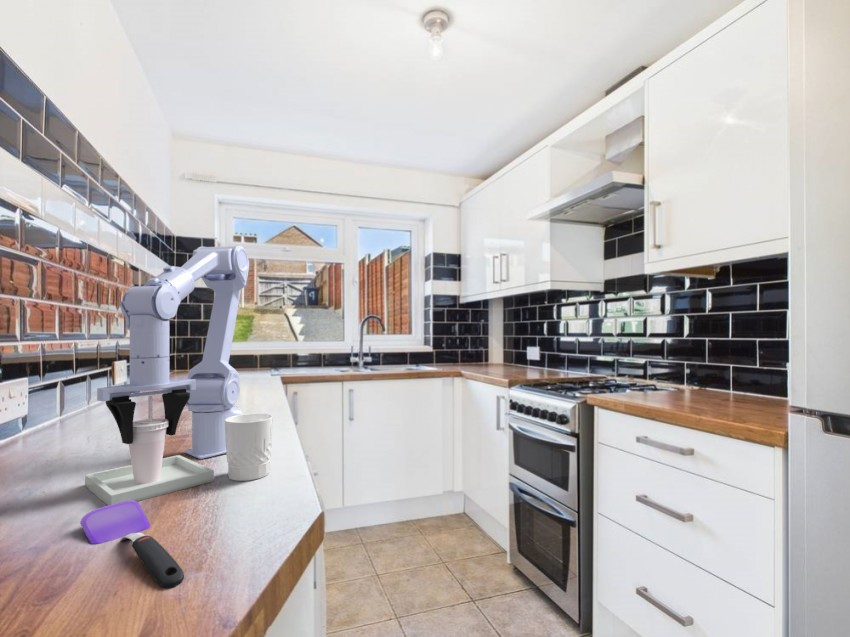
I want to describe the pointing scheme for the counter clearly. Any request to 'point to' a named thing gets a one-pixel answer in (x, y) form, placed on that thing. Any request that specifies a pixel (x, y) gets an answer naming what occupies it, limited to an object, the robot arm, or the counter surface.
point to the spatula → (132, 538)
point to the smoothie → (148, 447)
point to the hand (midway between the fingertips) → (149, 438)
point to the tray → (122, 487)
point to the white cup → (248, 446)
